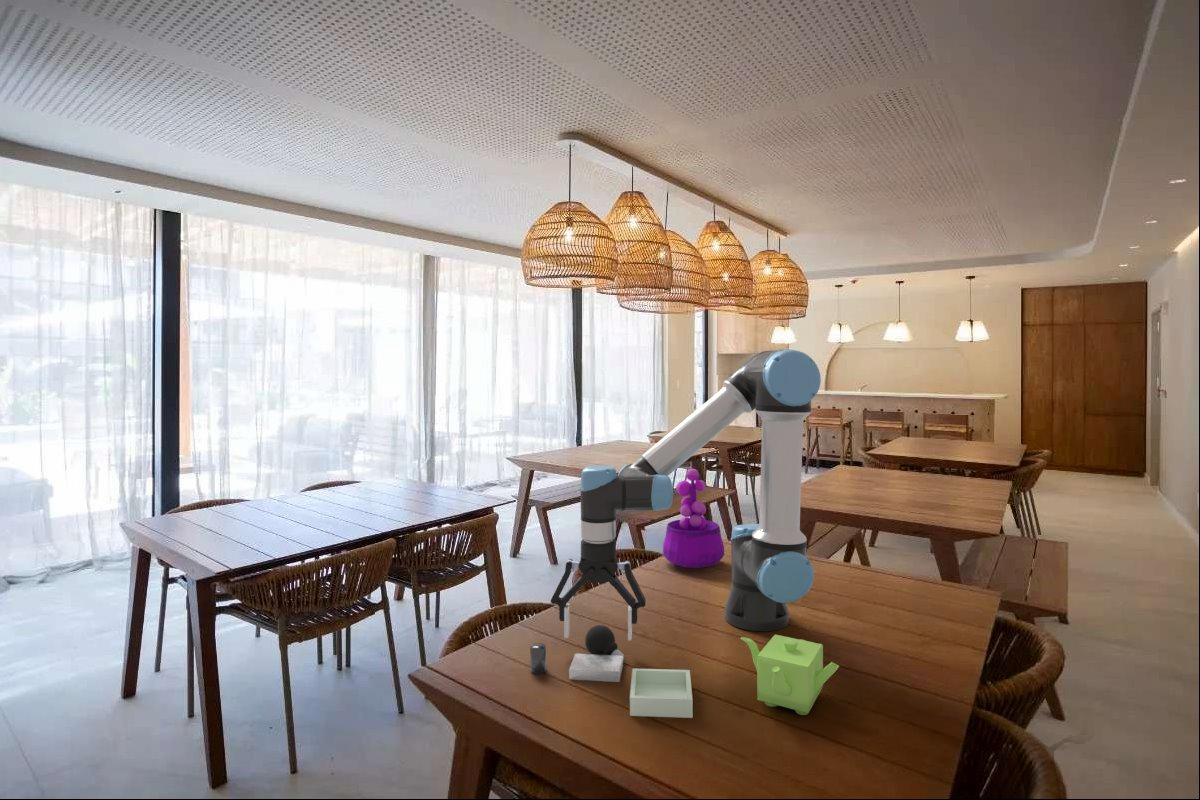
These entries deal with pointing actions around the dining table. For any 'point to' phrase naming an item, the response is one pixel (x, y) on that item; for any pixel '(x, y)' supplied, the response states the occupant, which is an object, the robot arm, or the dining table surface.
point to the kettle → (790, 672)
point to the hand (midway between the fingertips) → (598, 636)
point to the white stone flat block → (596, 667)
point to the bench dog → (538, 658)
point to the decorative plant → (692, 530)
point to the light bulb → (601, 641)
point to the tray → (661, 693)
